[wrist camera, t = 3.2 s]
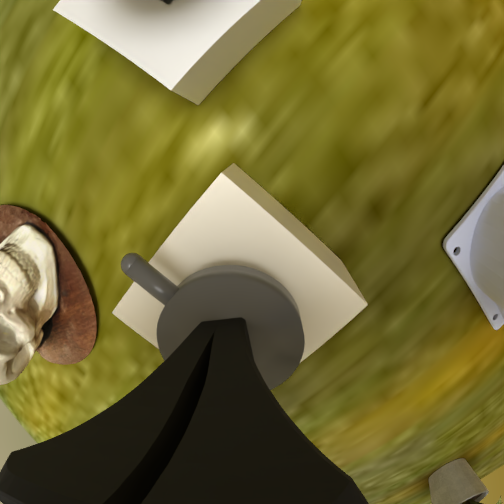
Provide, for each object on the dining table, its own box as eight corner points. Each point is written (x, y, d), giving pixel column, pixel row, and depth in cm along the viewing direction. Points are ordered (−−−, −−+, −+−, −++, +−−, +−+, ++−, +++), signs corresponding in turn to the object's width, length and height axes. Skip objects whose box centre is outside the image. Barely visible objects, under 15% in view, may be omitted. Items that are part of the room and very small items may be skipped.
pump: (313, 279, 13) (335, 341, 9) (244, 343, 15) (238, 413, 10) (197, 178, 12) (163, 200, 8) (135, 259, 13) (87, 309, 9)
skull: (-12, 154, 12) (-50, 290, 7) (109, 213, 21) (145, 335, 15) (-52, 278, 15) (-58, 398, 10) (45, 307, 24) (65, 413, 18)
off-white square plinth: (341, 260, 15) (368, 304, 11) (248, 346, 17) (244, 404, 13) (233, 163, 14) (221, 172, 9) (146, 269, 16) (111, 313, 11)
